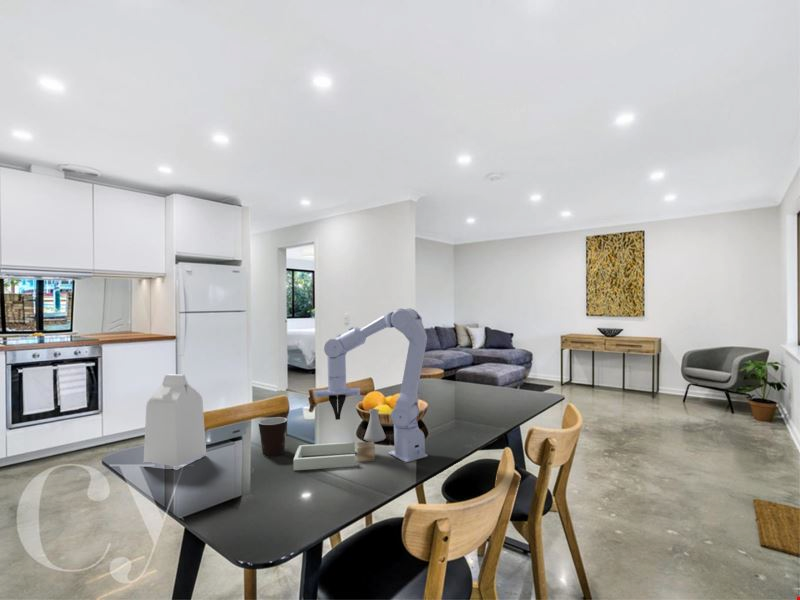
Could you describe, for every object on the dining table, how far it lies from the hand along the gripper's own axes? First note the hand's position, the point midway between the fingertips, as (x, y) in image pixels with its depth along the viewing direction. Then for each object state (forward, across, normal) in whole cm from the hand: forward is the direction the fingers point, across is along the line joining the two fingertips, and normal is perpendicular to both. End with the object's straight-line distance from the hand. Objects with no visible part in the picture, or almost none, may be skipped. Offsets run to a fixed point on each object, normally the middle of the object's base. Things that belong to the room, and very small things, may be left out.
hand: (337, 418), depth 130 cm
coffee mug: (+10, -20, +1) cm, 22 cm away
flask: (+10, +12, +7) cm, 17 cm away
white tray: (+9, -3, -10) cm, 14 cm away
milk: (+10, -48, -2) cm, 49 cm away
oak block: (+10, +8, -10) cm, 16 cm away
